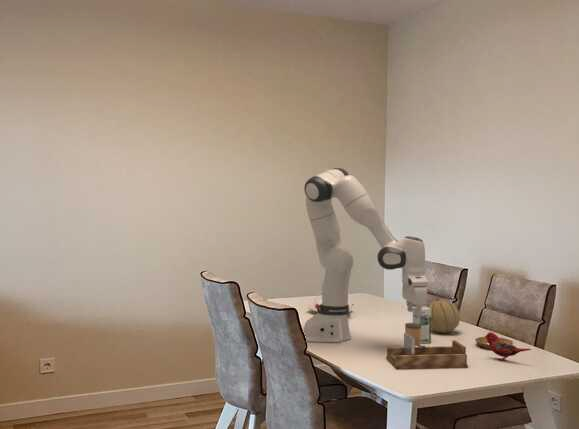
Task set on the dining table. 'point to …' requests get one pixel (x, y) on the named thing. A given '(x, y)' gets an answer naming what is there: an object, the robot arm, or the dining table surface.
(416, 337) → the jar
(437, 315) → the cantaloupe
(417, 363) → the shallow wooden crate
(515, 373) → the dining table surface
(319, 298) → the crumpled cloth
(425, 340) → the syrup box
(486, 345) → the plant saucer
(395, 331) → the dining table surface
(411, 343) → the pusher
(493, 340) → the decorative bird figurine
